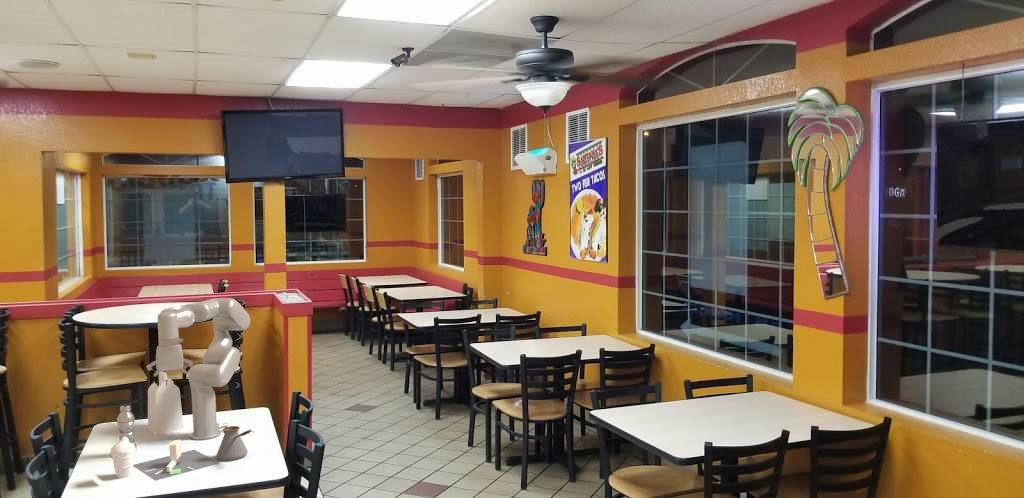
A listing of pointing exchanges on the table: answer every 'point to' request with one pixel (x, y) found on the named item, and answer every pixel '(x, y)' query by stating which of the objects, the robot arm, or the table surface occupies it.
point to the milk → (164, 406)
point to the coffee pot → (232, 444)
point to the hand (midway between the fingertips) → (170, 384)
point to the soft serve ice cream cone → (123, 457)
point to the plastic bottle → (126, 424)
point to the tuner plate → (186, 464)
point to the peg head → (174, 454)
